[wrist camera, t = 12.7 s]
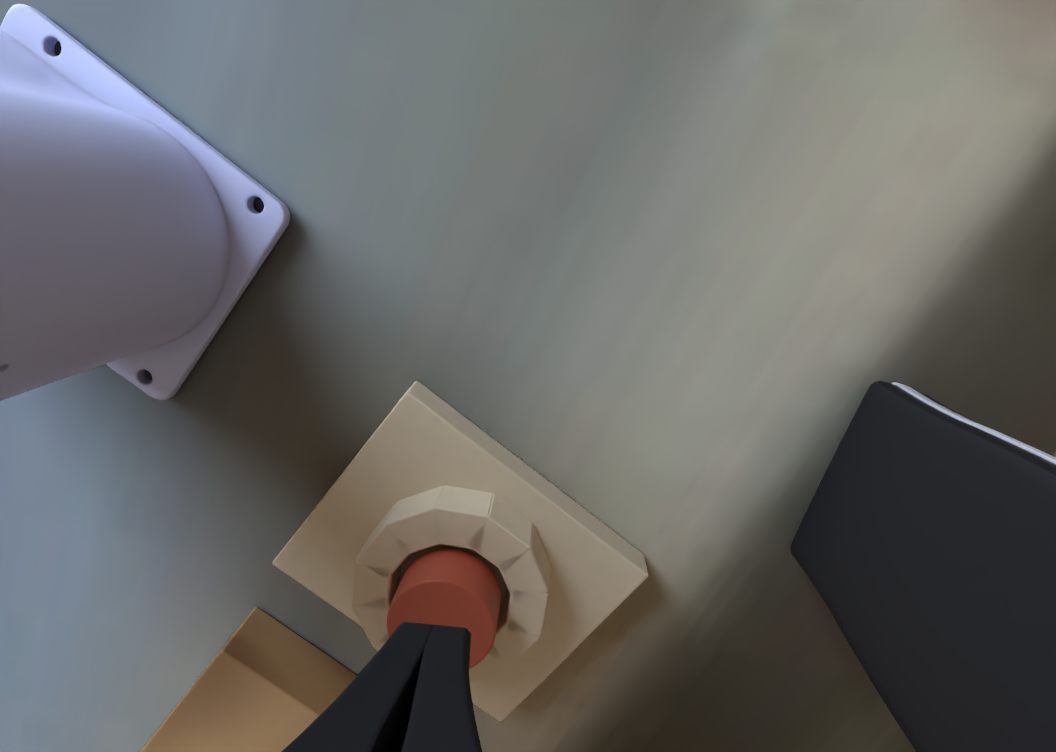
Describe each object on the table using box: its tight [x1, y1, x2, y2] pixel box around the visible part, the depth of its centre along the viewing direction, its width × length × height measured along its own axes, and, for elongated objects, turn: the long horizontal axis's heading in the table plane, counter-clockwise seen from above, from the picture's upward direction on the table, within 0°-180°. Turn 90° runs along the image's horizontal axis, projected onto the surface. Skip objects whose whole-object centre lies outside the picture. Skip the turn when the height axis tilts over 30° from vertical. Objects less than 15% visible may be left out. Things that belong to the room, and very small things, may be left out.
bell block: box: [272, 381, 649, 722], centre depth 21 cm, size 10×8×3 cm
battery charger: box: [791, 381, 1056, 752], centre depth 15 cm, size 7×4×11 cm, turn 162°
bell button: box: [387, 549, 501, 669], centre depth 19 cm, size 3×3×2 cm
